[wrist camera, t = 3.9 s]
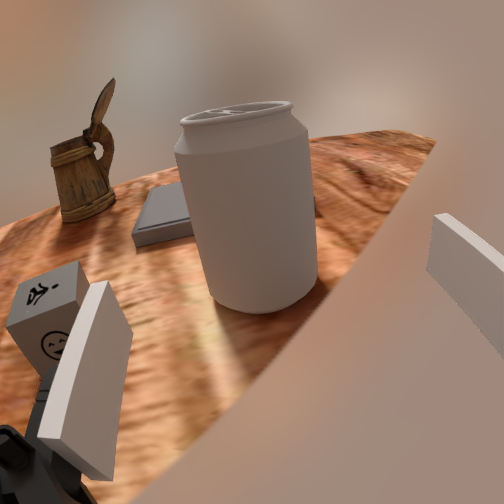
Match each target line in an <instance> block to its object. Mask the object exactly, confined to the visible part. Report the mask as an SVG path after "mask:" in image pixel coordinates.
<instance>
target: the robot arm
mask: <svg viewBox="0 0 504 504" xmlns="http://www.w3.org/2000/svg"><path fill="white" fill-rule="evenodd" d="M426 271H427V272H428V273H429V274H430V275H431V276H432V277H433V278H434V279H435V280H436V281H437V283H438V284H439V285H440V286H441V287H442V288H443V289H444V290H445V291H446V292H447V293H448V294H449V296H450V297H451V298H452V299H453V300H454V301H455V302H456V303H457V304H458V306H459V307H460V308H461V309H462V310H463V311H464V312H465V314H466V315H467V316H468V317H469V318H470V319H471V320H472V322H473V323H474V324H475V325H476V326H477V327H478V329H479V330H480V331H481V332H482V334H483V335H484V336H485V337H486V338H487V340H488V341H489V342H490V343H491V345H492V346H493V347H494V348H495V350H496V351H497V352H498V353H499V355H500V356H501V357H502V359H503V360H504V256H503V255H501V254H500V253H499V252H498V251H497V250H495V249H494V248H493V247H492V246H490V245H489V244H487V242H485V241H484V240H482V239H481V238H480V237H479V236H478V235H476V234H475V233H474V232H472V231H471V230H470V229H468V228H467V227H466V226H464V225H463V224H462V223H460V222H459V221H457V220H456V219H455V218H453V217H452V216H450V215H449V214H448V213H444V214H439V215H434V217H433V226H432V233H431V241H430V248H429V255H428V260H427V266H426ZM132 338H133V332H132V330H131V328H130V326H129V324H128V322H127V320H126V318H125V316H124V314H123V312H122V310H121V308H120V305H119V303H118V301H117V299H116V297H115V295H114V293H113V290H112V288H111V286H110V284H109V281H108V280H107V281H102V282H97V283H92V284H91V285H90V287H89V289H88V292H87V294H86V296H85V298H84V301H83V303H82V305H81V308H80V310H79V313H78V315H77V318H76V320H75V323H74V325H73V328H72V330H71V333H70V335H69V338H68V341H67V343H66V346H65V349H64V351H63V354H62V357H61V360H60V363H59V365H52V366H51V367H50V368H49V370H48V371H47V372H46V374H45V375H44V377H43V379H42V382H41V385H40V388H39V392H38V394H37V397H36V403H34V406H33V409H32V413H31V416H30V419H29V423H28V426H27V430H26V433H25V437H23V436H22V435H21V434H20V433H19V432H18V431H16V430H15V429H14V428H13V427H11V426H9V425H1V426H0V504H98V503H97V502H96V500H95V499H94V498H93V496H92V495H91V493H90V492H89V490H88V489H87V487H86V486H85V485H84V484H83V483H82V482H81V474H82V473H83V474H84V475H85V476H87V477H88V478H90V479H91V480H98V481H113V475H114V463H115V453H116V443H117V434H118V426H119V418H120V410H121V403H122V396H123V389H124V383H125V377H126V371H127V365H128V359H129V354H130V348H131V343H132Z"/></svg>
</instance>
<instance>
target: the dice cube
mask: <svg viewBox="0 0 504 504" xmlns="http://www.w3.org/2000/svg"><path fill="white" fill-rule="evenodd" d="M89 287H90V284H89V282H88V280H87V278H86V276H85V273H84V271H83V269H82V267H81V265H80V262H79V260H77V261H74V262H72V263H69V264H67V265H64V266H62V267H59V268H57V269H54V270H52V271H49V272H47V273H44V274H42V275H39V276H37V277H34V278H32V279H30V280H27V281H25V282H22V283H20V284H19V285H18V288H17V291H16V294H15V297H14V300H13V303H12V307H11V310H10V313H9V317H8V320H7V324H6V329H7V330H8V332H9V333H10V335H11V336H12V338H13V339H14V341H15V342H16V344H17V345H18V346H19V348H20V349H21V351H22V352H23V353H24V355H25V356H26V358H27V359H28V360H29V362H30V363H31V364H32V366H33V367H34V368H35V370H36V371H37V372H38V373H39V375H40V376H41V377H42V378H43V377H44V375H45V374H46V372H47V371H48V370H49V368H50V367H51V366H52V365H59V363H60V360H61V357H62V354H63V351H64V349H65V346H66V343H67V341H68V338H69V335H70V333H71V330H72V328H73V325H74V323H75V320H76V318H77V315H78V313H79V310H80V308H81V305H82V303H83V301H84V298H85V296H86V294H87V292H88V289H89Z"/></svg>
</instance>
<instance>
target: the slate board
mask: <svg viewBox="0 0 504 504" xmlns="http://www.w3.org/2000/svg"><path fill="white" fill-rule="evenodd" d="M314 210H315V211H316V207H315V197H314ZM191 235H194V232H193V228H192V224H191V220H190V216H189V212H188V208H187V204H186V200H185V196H184V192H183V187H182V183H181V182H176V183H172V184H168V185H163V186H159V187H155V188H151V190H150V192H149V195H148V197H147V199H146V201H145V203H144V206H143V208H142V210H141V212H140V215H139V217H138V219H137V222H136V224H135V226H134V229H133V231H132V237H133V240H134V243H135V246H136V247H140V246H145V245H149V244H154V243H158V242H163V241H168V240H172V239H177V238H182V237H187V236H191Z"/></svg>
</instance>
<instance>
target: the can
mask: <svg viewBox="0 0 504 504" xmlns="http://www.w3.org/2000/svg"><path fill="white" fill-rule="evenodd" d="M292 107H293V105H292V104H291V103H290V102H286V101H273V102H272V101H271V102H258V103H249V104H241V105H235V106H229V107H223V108H218V109H214V110H206V111H205V112H201V113H198V114H195V115H191V116H188V117H185V118H184V119H182V120H180V122H179V123H180V125H181V126H183V128H184V131H183V133H182V135H181V137H180V138H179V140H178V142H177V144H176V145H175V147H174V153H175V157H176V162H177V166H178V170H179V175H180V179H181V183H182V187H183V192H184V196H185V200H186V204H187V208H188V212H189V216H190V220H191V224H192V228H193V232H194V236H195V240H196V244H197V247H198V251H199V255H200V259H201V262H202V266H203V270H204V274H205V277H206V281H207V284H208V288H209V292H210V295H211V296H212V297H213V298H214V299H215V300H216V301H217V302H218V303H219V304H221V305H223V306H226V307H228V308H230V309H232V310H238V311H240V312H244V313H251V314H264V313H272V312H275V311H279V310H282V309H285V308H287V307H288V306H290V305H292V304H293V303H295V302H296V301H297V300H299V299H301V298H302V297H304V296H305V295H306V294H307V293H308V292H309V291H310V290H311V289H312V287H313V286H314V285H315V282H316V279H317V276H318V264H317V243H316V226H315V210H314V196H313V183H312V171H311V160H310V149H309V139H308V130H307V128H306V127H305V126H304V125H303V124H302V123H301V122H300V121H299V120H297V119H296V118H295V117H294V116H293V115H292V114H291V108H292Z"/></svg>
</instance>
